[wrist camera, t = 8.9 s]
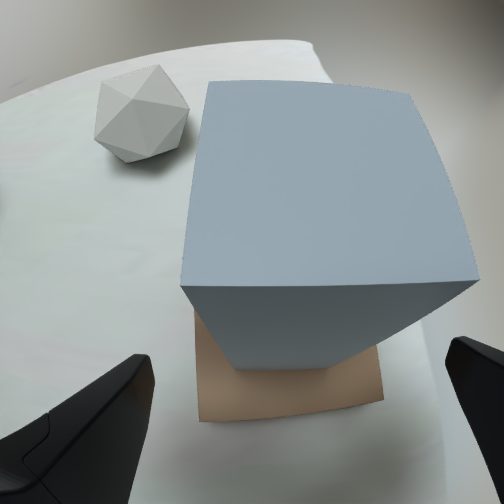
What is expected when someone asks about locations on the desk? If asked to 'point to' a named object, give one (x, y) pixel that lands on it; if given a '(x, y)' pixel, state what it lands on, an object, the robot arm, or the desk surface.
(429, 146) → the slate block
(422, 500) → the desk surface
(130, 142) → the die
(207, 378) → the walnut base block
